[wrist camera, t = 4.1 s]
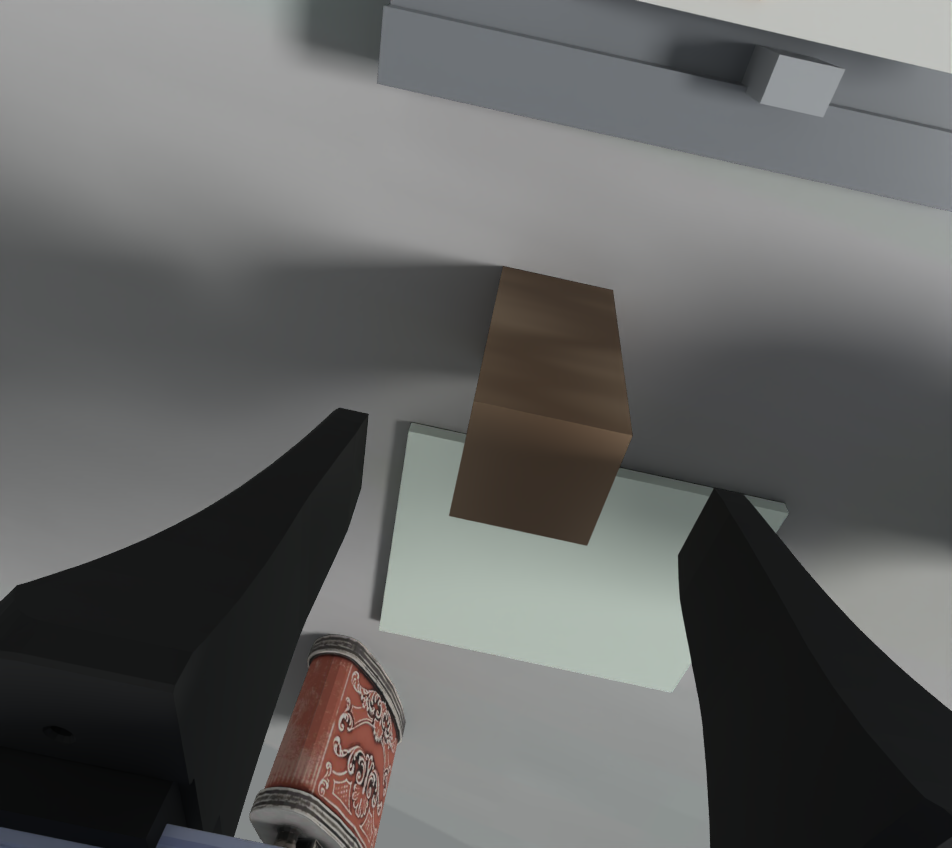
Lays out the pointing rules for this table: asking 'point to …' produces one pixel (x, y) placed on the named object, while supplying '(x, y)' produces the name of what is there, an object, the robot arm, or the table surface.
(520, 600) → the mat
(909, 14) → the rocker switch
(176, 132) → the table surface
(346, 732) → the lighter
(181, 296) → the table surface
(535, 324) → the wooden brick
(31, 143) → the table surface
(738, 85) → the switch panel
